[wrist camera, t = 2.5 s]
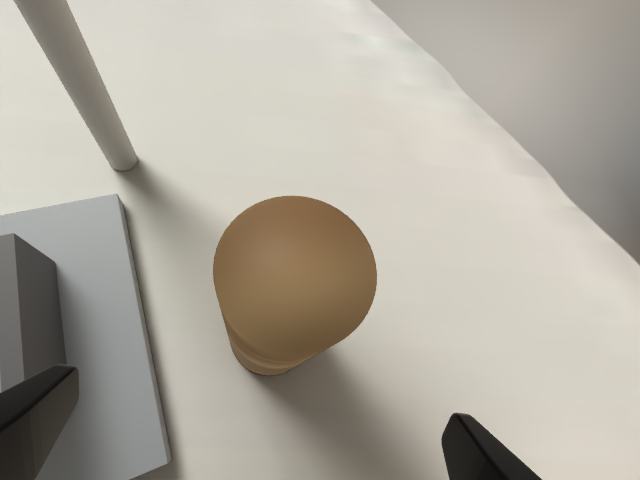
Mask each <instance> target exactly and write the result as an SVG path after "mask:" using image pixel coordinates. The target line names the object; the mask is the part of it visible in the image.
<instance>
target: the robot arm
mask: <svg viewBox="0 0 640 480" xmlns="http://www.w3.org/2000/svg"><path fill="white" fill-rule="evenodd" d="M78 399H79V370H78V368H77V367H76V366H73V365H65V364H56V365H53V366H51V367H49V368H47V369H45V370H43V371H42V372H40V373H38V374H36V375H34V376H32V377H30V378H28V379H26V380H24V381H22V382H20V383H18V384H16V385H14V386H12V387H11V388H9V389H7V390H5V391H3V392H1V393H0V480H35V479H36V477H37V475H38V474H39V472H40V470H41V468H42V467H43V465H44V463H45V461H46V459H47V458H48V456H49V454H50V452H51V450H52V448H53V447H54V445H55V443H56V441H57V439H58V437H59V436H60V434H61V432H62V430H63V428H64V427H65V425H66V423H67V421H68V419H69V417H70V416H71V414H72V412H73V410H74V408H75V406H76V404H77V402H78ZM442 448H443V453H444V457H445V462H446V466H447V470H448V475H449V479H450V480H542V479H541V478H540V477H539V476H537V475H536V474H535V473H534V472H533V471H532V470H531V469H530V468H529V467H527V466H526V465H525V464H524V463H523V462H522V461H521V460H520V459H519V458H517V457H516V456H515V455H514V454H513V453H512V452H511V451H510V450H509V449H507V448H506V447H505V446H504V445H503V444H502V443H501V442H500V441H499V440H498V439H496V438H495V437H494V436H493V435H492V434H491V433H490V432H489V431H488V430H486V429H485V428H484V427H483V426H482V425H481V424H480V423H479V422H478V421H476V420H475V419H474V418H473V417H472V416H471V415H468V414H462V413H454V414H452V415H451V417H450V419H449V422H448V424H447V426H446V428H445V430H444V432H443V435H442Z"/></svg>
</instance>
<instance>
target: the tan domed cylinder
mask: <svg viewBox="0 0 640 480" xmlns="http://www.w3.org/2000/svg"><path fill="white" fill-rule="evenodd" d="M213 278H214V285H215V290H216V294H217V297H218V301H219V305H220V308H221V312H222V315H223V319H224V322H225V326H226V330H227V333H228V337H229V340H230V344H231V347H232V350H233V353H234V355H235V357H236V358H237V359H238V361H239V362H240V363H241V364H242V365H243V366H244V367H245V368H247V369H248V370H250V371H252V372H254V373H256V374H260V375H267V376H269V375H278V374H281V373H284V372H286V371H288V370H290V369H292V368H294V367H296V366H297V365H299V364H301V363H303V362H304V361H306V360H308V359H310V358H312V357H313V356H315V355H317V354H319V353H320V352H322V351H324V350H326V349H327V348H329V347H331V346H333V345H335V344H336V343H338V342H340V341H341V340H343V339H344V338H346V337H347V336H348V335H350V334H351V333H352V332H353V331H354V330H355V329H356V328H357V327H358V326H359V325H360V324H361V322H362V321H363V320H364V318H365V316H366V315H367V313H368V311H369V309H370V307H371V305H372V302H373V299H374V296H375V291H376V285H377V271H376V263H375V259H374V255H373V252H372V250H371V247H370V245H369V243H368V241H367V239H366V237H365V236H364V234H363V233H362V231H361V230H360V229H359V227H358V226H357V225H356V224H355V223H354V222H353V221H352V220H351V219H350V218H349V217H348V216H347V215H345V214H344V213H343V212H341V211H340V210H338V209H337V208H335V207H333V206H331V205H329V204H327V203H325V202H322V201H319V200H316V199H313V198H308V197H302V196H282V197H275V198H271V199H268V200H264V201H262V202H259V203H257V204H255V205H253V206H251V207H250V208H248V209H246V210H245V211H244V212H242V213H241V214H240V215H238V216H237V217H236V218H235V219H234V220H233V221H232V222H231V224H230V225H229V226H228V228H227V229H226V230H225V232H224V234H223V235H222V237H221V239H220V241H219V244H218V246H217V249H216V253H215V257H214V265H213Z"/></svg>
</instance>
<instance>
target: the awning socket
mask: <svg viewBox="0 0 640 480" xmlns="http://www.w3.org/2000/svg"><path fill="white" fill-rule="evenodd" d="M14 2H15V3H16V5H17V7H18V8H19V10H20V12H21V14H22V15H23V17H24V19H25V20H26V22H27V24H28V25H29V27H30V29H31V31H32V32H33V34H34V36H35V37H36V39H37V41H38V43H39V44H40V46H41V48H42V49H43V51H44V53H45V55H46V56H47V58H48V60H49V61H50V63H51V65H52V66H53V68H54V70H55V72H56V73H57V75H58V77H59V78H60V80H61V82H62V84H63V85H64V87H65V89H66V90H67V92H68V94H69V96H70V97H71V99H72V101H73V102H74V104H75V106H76V107H77V109H78V111H79V113H80V114H81V116H82V118H83V119H84V121H85V123H86V125H87V126H88V128H89V130H90V131H91V133H92V135H93V137H94V138H95V140H96V142H97V143H98V145H99V147H100V148H101V150H102V152H103V154H104V155H105V157H106V159H107V160H108V162H109V164H110V165H111V167H112V168H114V169H116V170H119V171H126V170H129V169H131V168H133V167H134V166H135V165H136V163H137V156H136V154H135V151H134V149H133V147H132V145H131V142H130V140H129V138H128V136H127V134H126V131H125V129H124V127H123V125H122V123H121V120H120V118H119V116H118V114H117V112H116V109H115V107H114V105H113V103H112V101H111V98H110V96H109V94H108V92H107V89H106V87H105V85H104V83H103V81H102V78H101V76H100V74H99V72H98V70H97V67H96V65H95V63H94V61H93V59H92V56H91V54H90V52H89V50H88V48H87V45H86V43H85V41H84V39H83V36H82V34H81V32H80V30H79V28H78V25H77V23H76V21H75V19H74V17H73V14H72V12H71V10H70V8H69V6H68V3H67V1H66V0H14ZM56 364H65V365H73V366H76V367H77V368H78V370H79V399H78V402H77V404H76V406H75V408H74V410H73V412H72V414H71V416H70V417H69V419H68V421H67V423H66V425H65V427H64V428H63V430H62V432H61V434H60V436H59V437H58V439H57V441H56V443H55V445H54V447H53V448H52V450H51V452H50V454H49V456H48V458H47V459H46V461H45V463H44V465H43V467H42V468H41V470H40V472H39V474H38V475H37V477H36V479H35V480H130V479H132V478H135V477H137V476H139V475H142V474H144V473H146V472H149V471H151V470H153V469H156V468H158V467H161V466H163V465H165V464H168V463H169V462H170V461H171V460H172V458H171V452H170V447H169V442H168V437H167V432H166V426H165V421H164V416H163V411H162V406H161V400H160V395H159V390H158V385H157V380H156V374H155V369H154V364H153V359H152V354H151V348H150V343H149V338H148V333H147V328H146V322H145V317H144V312H143V307H142V302H141V296H140V291H139V286H138V281H137V276H136V270H135V265H134V260H133V255H132V250H131V244H130V239H129V234H128V229H127V224H126V218H125V213H124V208H123V203H122V201H121V200H120V198H119V196H118V195H117V194H113V195H107V196H102V197H97V198H91V199H86V200H81V201H75V202H70V203H65V204H59V205H54V206H49V207H43V208H38V209H33V210H27V211H22V212H17V213H11V214H6V215H1V216H0V393H1V392H3V391H5V390H7V389H9V388H11V387H12V386H14V385H16V384H18V383H20V382H22V381H24V380H26V379H28V378H30V377H32V376H34V375H36V374H38V373H40V372H42V371H43V370H45V369H47V368H49V367H51V366H53V365H56Z"/></svg>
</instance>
